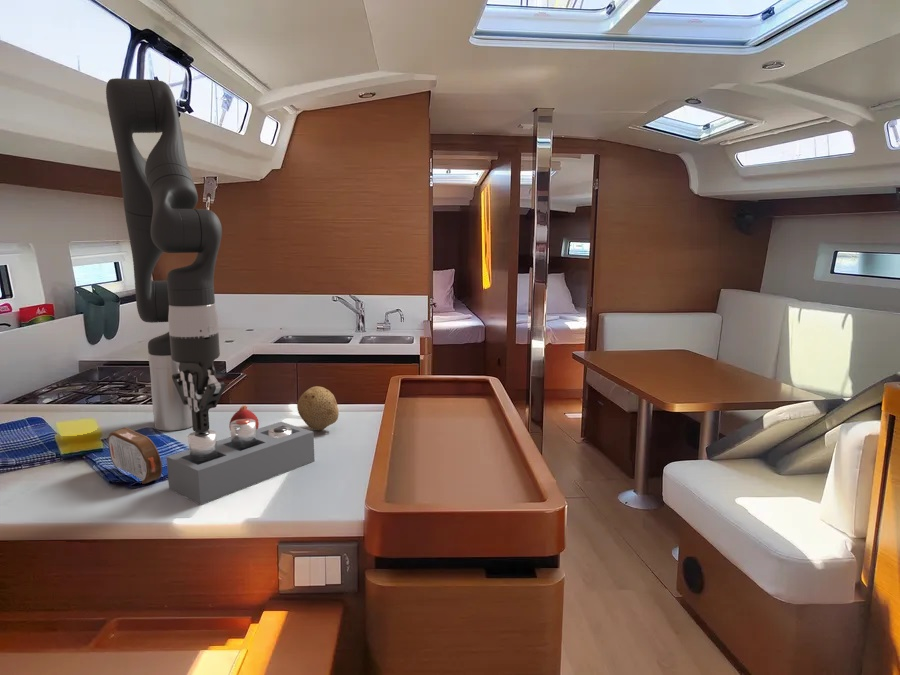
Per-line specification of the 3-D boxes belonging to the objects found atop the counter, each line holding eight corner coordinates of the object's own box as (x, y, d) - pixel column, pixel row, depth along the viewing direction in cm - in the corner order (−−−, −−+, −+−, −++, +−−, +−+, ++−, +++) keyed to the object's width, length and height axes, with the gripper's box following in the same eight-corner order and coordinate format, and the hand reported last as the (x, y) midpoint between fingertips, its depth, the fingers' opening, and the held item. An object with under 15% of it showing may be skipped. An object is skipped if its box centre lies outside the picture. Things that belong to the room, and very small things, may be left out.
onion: (250, 447, 125) (248, 410, 123) (225, 445, 126) (222, 408, 124) (264, 438, 130) (262, 402, 129) (240, 436, 131) (237, 401, 130)
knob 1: (184, 457, 103) (183, 433, 103) (208, 449, 107) (206, 426, 106) (198, 463, 101) (197, 438, 100) (222, 455, 104) (221, 431, 103)
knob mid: (226, 444, 110) (225, 421, 109) (247, 437, 113) (246, 415, 112) (240, 449, 107) (239, 426, 106) (261, 442, 110) (260, 420, 110)
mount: (169, 489, 105) (166, 456, 104) (282, 449, 124) (281, 421, 122) (200, 505, 99) (198, 470, 98) (314, 460, 118) (313, 431, 117)
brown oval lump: (297, 424, 139) (295, 382, 137) (336, 421, 142) (335, 380, 140) (299, 437, 131) (297, 393, 129) (340, 433, 133) (339, 390, 131)
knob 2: (264, 450, 117) (263, 429, 116) (283, 444, 120) (282, 423, 119) (278, 456, 114) (277, 434, 113) (297, 449, 117) (296, 428, 117)
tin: (165, 484, 107) (161, 439, 105) (147, 490, 104) (143, 444, 103) (124, 464, 116) (120, 422, 114) (107, 469, 113) (103, 427, 112)
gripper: (151, 330, 101) (160, 429, 104) (194, 338, 93) (202, 445, 96) (193, 324, 107) (200, 418, 110) (237, 332, 99) (243, 433, 102)
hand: (201, 431), depth 103 cm, fingers closed
